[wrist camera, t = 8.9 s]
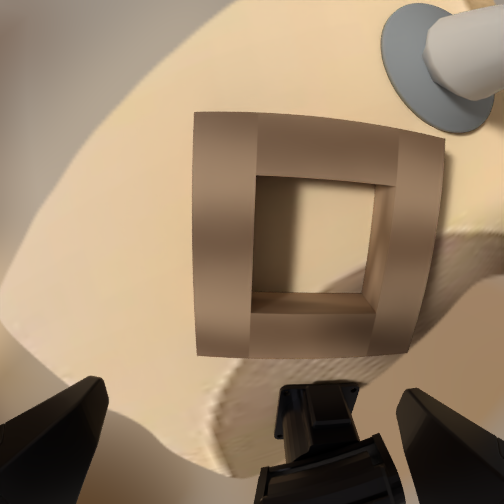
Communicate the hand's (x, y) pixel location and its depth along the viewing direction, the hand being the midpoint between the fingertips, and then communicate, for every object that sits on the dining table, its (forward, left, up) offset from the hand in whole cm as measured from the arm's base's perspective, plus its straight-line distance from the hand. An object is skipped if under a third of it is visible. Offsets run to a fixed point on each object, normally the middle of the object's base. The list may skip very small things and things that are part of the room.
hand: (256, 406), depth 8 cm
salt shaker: (+15, -13, -12) cm, 23 cm away
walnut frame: (+2, -4, -12) cm, 13 cm away
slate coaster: (+15, -13, -12) cm, 23 cm away
